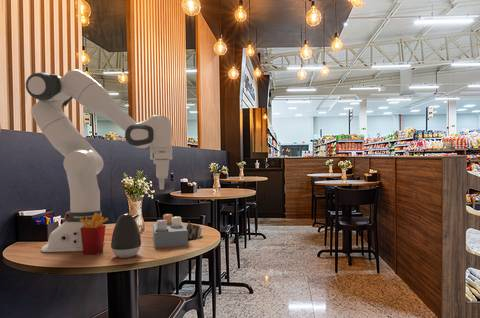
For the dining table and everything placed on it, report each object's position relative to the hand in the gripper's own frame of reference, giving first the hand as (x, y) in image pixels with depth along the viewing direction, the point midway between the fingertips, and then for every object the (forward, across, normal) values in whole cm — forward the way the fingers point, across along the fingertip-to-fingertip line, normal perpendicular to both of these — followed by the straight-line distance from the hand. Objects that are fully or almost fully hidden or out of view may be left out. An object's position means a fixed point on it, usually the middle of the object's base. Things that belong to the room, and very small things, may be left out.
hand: (161, 189), depth 135 cm
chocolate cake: (+23, -11, +14) cm, 29 cm away
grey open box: (+23, -8, +3) cm, 24 cm away
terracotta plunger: (+18, -16, +3) cm, 24 cm away
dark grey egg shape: (+23, +12, -13) cm, 29 cm away
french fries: (+23, +3, -24) cm, 33 cm away
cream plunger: (+18, -7, +6) cm, 20 cm away
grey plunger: (+18, 0, 0) cm, 18 cm away
